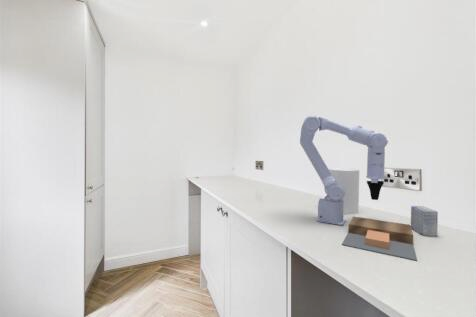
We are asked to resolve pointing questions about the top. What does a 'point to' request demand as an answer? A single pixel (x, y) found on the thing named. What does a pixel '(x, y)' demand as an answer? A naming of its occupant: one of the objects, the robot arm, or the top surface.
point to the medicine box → (424, 220)
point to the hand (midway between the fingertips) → (374, 199)
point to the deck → (382, 229)
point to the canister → (348, 188)
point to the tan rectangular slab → (377, 239)
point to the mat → (394, 248)
